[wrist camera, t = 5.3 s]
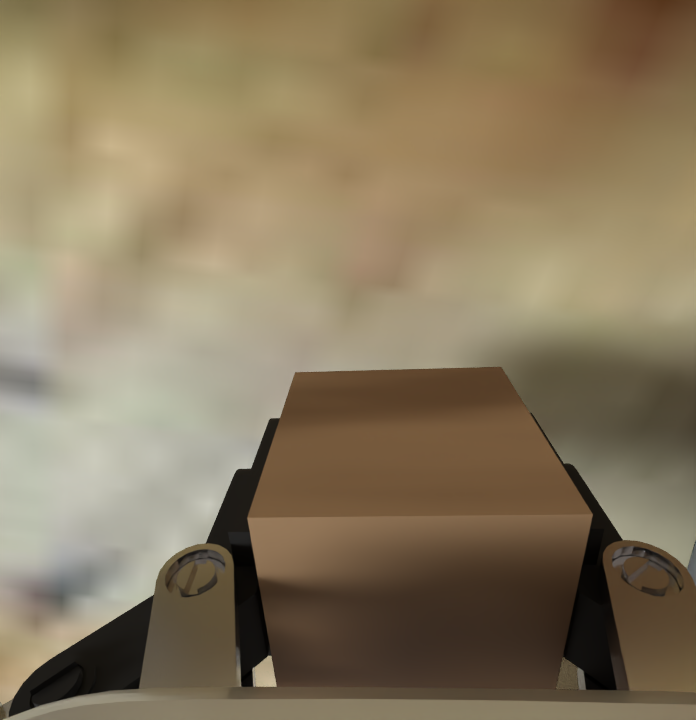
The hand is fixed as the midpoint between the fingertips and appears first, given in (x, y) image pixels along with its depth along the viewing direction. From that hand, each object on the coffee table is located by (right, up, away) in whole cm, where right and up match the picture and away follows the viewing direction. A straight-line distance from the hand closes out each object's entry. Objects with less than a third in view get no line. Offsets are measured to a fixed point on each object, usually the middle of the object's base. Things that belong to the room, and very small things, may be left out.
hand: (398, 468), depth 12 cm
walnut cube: (0, 0, +1) cm, 1 cm away
